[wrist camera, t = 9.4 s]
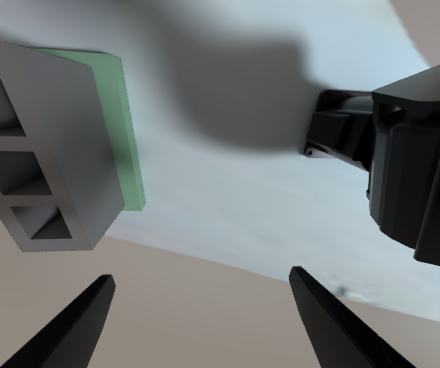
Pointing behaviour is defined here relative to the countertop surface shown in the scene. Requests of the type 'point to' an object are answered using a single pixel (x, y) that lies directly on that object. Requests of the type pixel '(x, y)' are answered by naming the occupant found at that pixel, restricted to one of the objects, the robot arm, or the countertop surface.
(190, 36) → the countertop surface
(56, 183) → the grey cinder block
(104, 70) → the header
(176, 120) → the countertop surface
